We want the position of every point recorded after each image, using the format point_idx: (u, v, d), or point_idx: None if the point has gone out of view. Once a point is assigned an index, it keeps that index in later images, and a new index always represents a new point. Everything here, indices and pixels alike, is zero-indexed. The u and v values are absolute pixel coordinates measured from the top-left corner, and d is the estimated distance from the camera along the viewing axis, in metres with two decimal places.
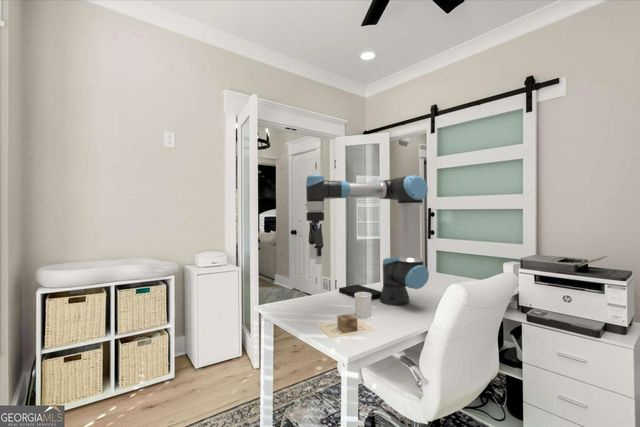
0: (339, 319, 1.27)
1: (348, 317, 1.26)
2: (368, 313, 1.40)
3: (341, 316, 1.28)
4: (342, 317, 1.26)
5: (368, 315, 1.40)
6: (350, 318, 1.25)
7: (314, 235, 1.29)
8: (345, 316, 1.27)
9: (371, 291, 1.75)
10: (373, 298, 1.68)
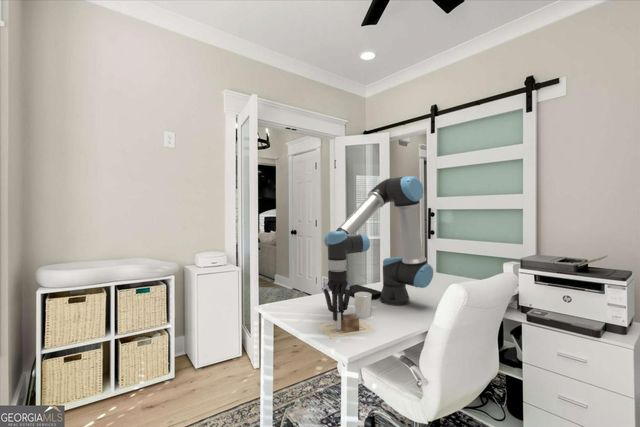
0: None
1: (350, 317, 1.27)
2: (368, 313, 1.40)
3: (343, 316, 1.28)
4: (344, 317, 1.27)
5: (368, 315, 1.40)
6: (352, 318, 1.25)
7: None
8: (347, 316, 1.27)
9: (371, 291, 1.75)
10: (373, 298, 1.68)
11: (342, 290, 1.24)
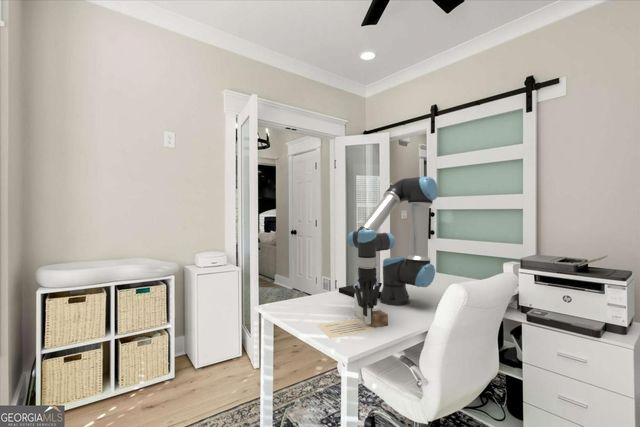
0: None
1: (379, 313, 1.31)
2: None
3: (372, 312, 1.33)
4: (373, 313, 1.32)
5: None
6: (381, 314, 1.30)
7: None
8: (376, 312, 1.32)
9: None
10: None
11: (372, 286, 1.29)
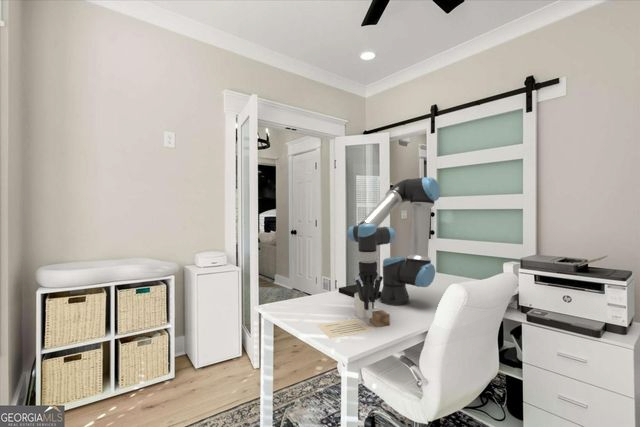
0: (372, 315, 1.32)
1: (380, 313, 1.32)
2: None
3: (373, 312, 1.33)
4: (375, 313, 1.32)
5: None
6: (383, 314, 1.31)
7: None
8: (378, 312, 1.32)
9: None
10: None
11: (373, 280, 1.29)
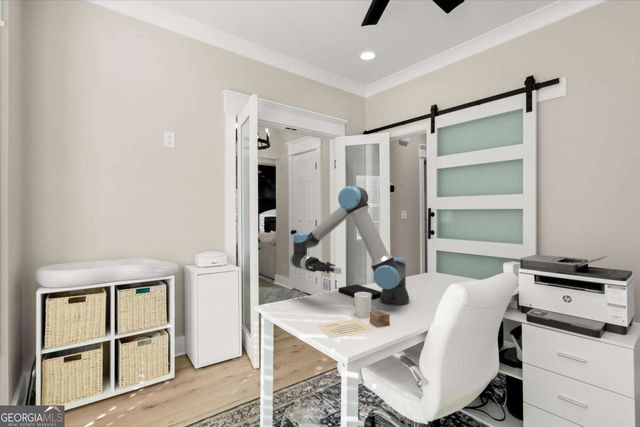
0: (372, 315, 1.32)
1: (380, 313, 1.32)
2: (368, 313, 1.40)
3: (373, 312, 1.33)
4: (375, 313, 1.32)
5: (368, 315, 1.40)
6: (383, 314, 1.31)
7: (325, 264, 1.57)
8: (378, 312, 1.32)
9: (371, 291, 1.75)
10: (373, 298, 1.68)
11: None
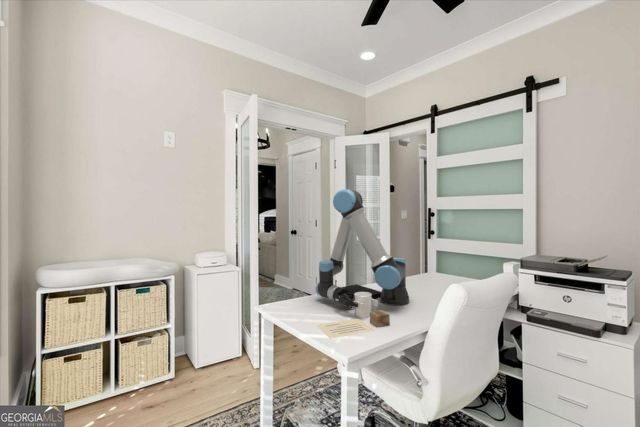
0: (372, 315, 1.32)
1: (380, 313, 1.32)
2: (368, 313, 1.40)
3: (373, 312, 1.33)
4: (375, 313, 1.32)
5: (368, 315, 1.40)
6: (382, 314, 1.31)
7: None
8: (377, 312, 1.32)
9: (370, 291, 1.75)
10: (372, 298, 1.68)
11: None
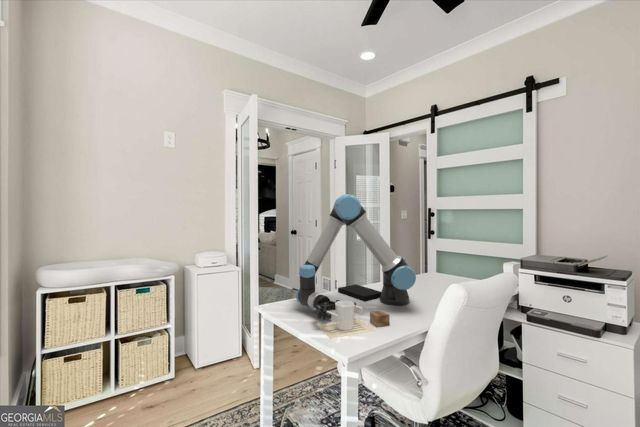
0: (372, 315, 1.32)
1: (380, 313, 1.32)
2: (350, 325, 1.26)
3: (373, 312, 1.33)
4: (375, 313, 1.32)
5: (350, 327, 1.26)
6: (382, 314, 1.30)
7: None
8: (378, 312, 1.32)
9: (370, 291, 1.75)
10: (372, 298, 1.68)
11: None
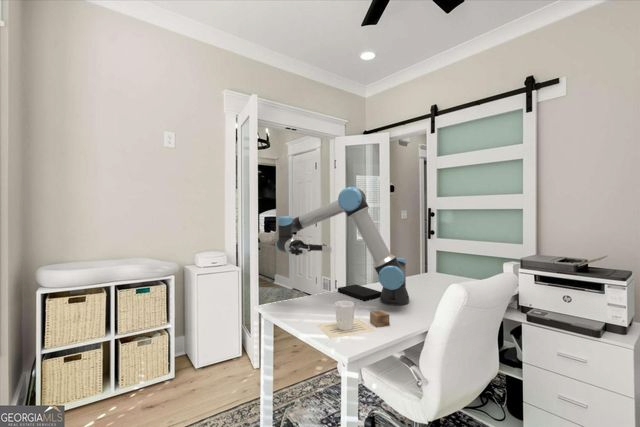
0: (372, 315, 1.32)
1: (380, 313, 1.32)
2: (350, 325, 1.26)
3: (373, 312, 1.33)
4: (374, 313, 1.32)
5: (350, 327, 1.26)
6: (382, 314, 1.30)
7: (312, 245, 1.55)
8: (378, 312, 1.32)
9: (370, 291, 1.75)
10: (372, 298, 1.68)
11: None
